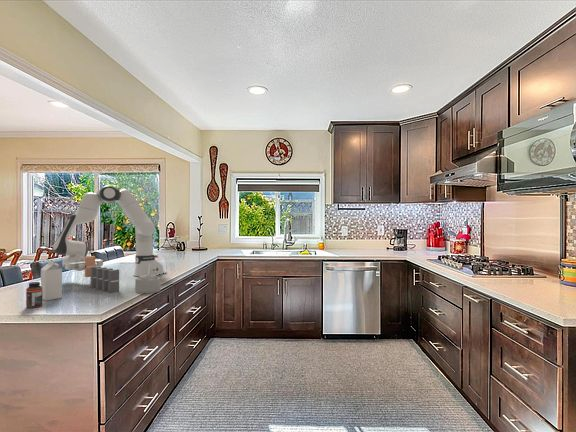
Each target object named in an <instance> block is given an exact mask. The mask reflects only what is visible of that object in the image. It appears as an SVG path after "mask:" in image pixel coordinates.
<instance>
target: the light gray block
mask: <svg viewBox="0 0 576 432" xmlns="http://www.w3.org/2000/svg"><path fill="white" fill-rule="evenodd" d="M134 280H135V286H134V287H135V291H136V292H135V293H138V292H141V294H151V293H152V294H153V293H158V292H160V291H161V277H159V276H158V275H153V274H152V275H150V276H148V275H143V276H137V278H134Z"/></svg>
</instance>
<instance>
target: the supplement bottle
mask: <svg viewBox="0 0 576 432" xmlns="http://www.w3.org/2000/svg"><path fill="white" fill-rule="evenodd" d="M25 290H26V291H25V293H26V294H25V296H26V297H25V298H26V299H25V306H26V307H25V308H27V309H36V308H40V307H42V306H43V299H42V287H41V281H31V282H29V283H28V287H27V288H26V289H25Z"/></svg>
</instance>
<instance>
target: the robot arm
mask: <svg viewBox="0 0 576 432" xmlns="http://www.w3.org/2000/svg"><path fill="white" fill-rule="evenodd" d="M113 202H116V203H117V204H118V205H119V207H120V208H121V209H122V211H123V213H124V214H125V215H126V217H127V218H128V220H129V221H130V222H131V224H132V225H133V227H134V231H135V233H134V234H135V235H134V236H135V246H136V247H135V255H134V258H135V259H134V261H135V265H134V266H135V267H134V271H133V272H134V273H133V276H134V277H140V276H143V275H148V276H150V275H152V274H153V275H155V276H159V274H160V275H164V274H167V273H168V272H167V271H166V270H164V265H163V264H162V263H160V262H159V261H158V260H157V259H158V258H159V256H158V254H154V243H153V242H154V241H153V233H154V232H155V224H154V223H153V221H152V220H151V218H150V217H149V216H148V215H147V213H146V211H144V209H143V208H142V206H141V205H140V203H139V202H138V200H137V198H136V197H135V196H134V195H133V193H132V192H131V191H130V190H129V189H126V188H123V189H118V188H116V187H114V186H112V185H104V186H102V187H100V188H99V189H98V191H97V192H86V193H85V194H84V195H83V196H82V198H81V200H80V203H79V205H78V208H77V210H76V211H75V213H72V214H70V215H69V217H68V218H67V220H66V221H65V224H64V226H63V228H61V229H62V230H61V231H60V233H59V235H58V237H57V238H56V240H55V242H54V244H53V245H52V250H53V252H54V253H55V254H56V255H57V256H64V257H63V258H62V261H61V263H62V265H61V267H64V269H65V270H68V271H69V270H73V271H78V272H82V271H85V268H86V265H85V257H87V255H88V252H89V248H88V245H87V244H86V242H84V241H79V240H72V239H69V237H70V235H71V234H72V231H73V229H74V228H75V227H76V226H78V225H81V224H88V223H91V222H93V221H94V220H95V219H96V218H97V216H98V212H99V210H100V209H99V208H100V206H101V204H110V203H113ZM103 265H104V260H103V259H100V258H95V267H98V266H101V267H103ZM163 273H164V274H163Z"/></svg>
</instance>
